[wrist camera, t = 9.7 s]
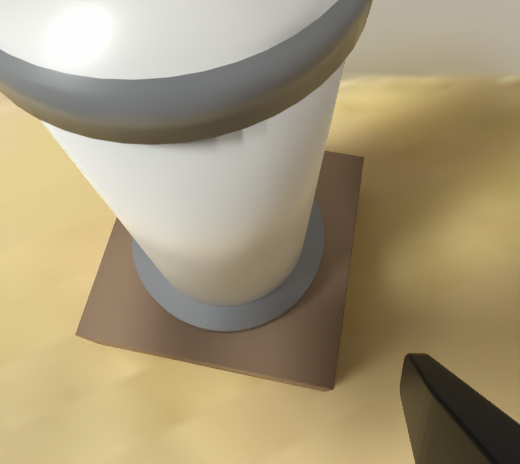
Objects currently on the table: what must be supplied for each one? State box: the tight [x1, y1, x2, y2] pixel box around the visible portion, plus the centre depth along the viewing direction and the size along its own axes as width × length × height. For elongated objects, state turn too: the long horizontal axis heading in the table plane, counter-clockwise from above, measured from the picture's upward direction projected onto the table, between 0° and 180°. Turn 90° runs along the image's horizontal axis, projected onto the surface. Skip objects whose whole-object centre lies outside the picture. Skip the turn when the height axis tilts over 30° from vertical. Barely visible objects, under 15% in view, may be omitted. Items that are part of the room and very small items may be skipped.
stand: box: [75, 151, 364, 392], centre depth 19 cm, size 10×10×2 cm
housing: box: [0, 0, 372, 333], centre depth 12 cm, size 8×8×13 cm
